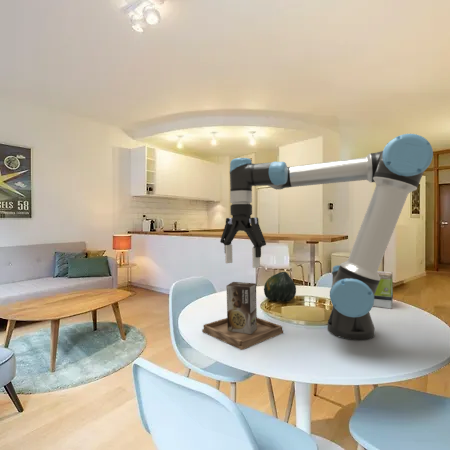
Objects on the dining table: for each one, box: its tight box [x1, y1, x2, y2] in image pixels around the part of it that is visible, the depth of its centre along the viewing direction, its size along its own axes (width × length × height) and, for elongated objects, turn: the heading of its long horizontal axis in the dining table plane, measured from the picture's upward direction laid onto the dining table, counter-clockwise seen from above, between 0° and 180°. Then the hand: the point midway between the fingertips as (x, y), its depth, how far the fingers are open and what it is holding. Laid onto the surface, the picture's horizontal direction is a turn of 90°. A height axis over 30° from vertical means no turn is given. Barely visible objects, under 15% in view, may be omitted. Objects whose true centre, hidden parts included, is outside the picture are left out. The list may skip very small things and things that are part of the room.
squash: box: [263, 271, 297, 303], centre depth 145 cm, size 14×15×15 cm
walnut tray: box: [201, 317, 284, 351], centre depth 105 cm, size 20×20×2 cm
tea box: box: [373, 270, 394, 309], centre depth 137 cm, size 15×10×15 cm
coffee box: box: [226, 281, 258, 334], centre depth 105 cm, size 9×6×16 cm
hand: (241, 265), depth 104 cm, fingers open, 13 cm apart
